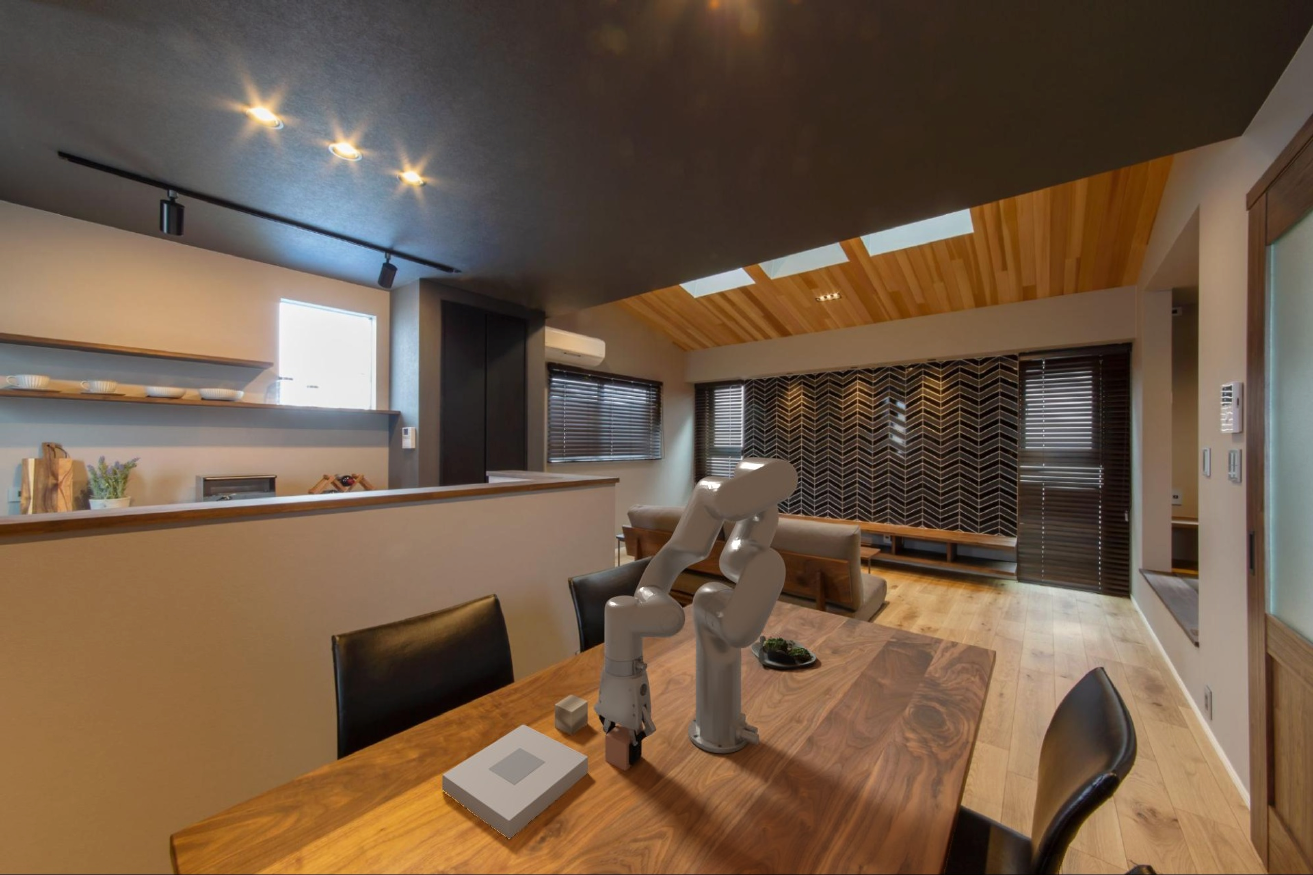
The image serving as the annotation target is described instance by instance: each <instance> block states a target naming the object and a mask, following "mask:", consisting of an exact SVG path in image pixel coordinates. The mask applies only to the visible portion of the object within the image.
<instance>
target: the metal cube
mask: <svg viewBox="0 0 1313 875" xmlns="http://www.w3.org/2000/svg"><path fill="white" fill-rule="evenodd" d="M588 705H589V701H588V700H586V699H583V698H580V697H579V696H576V695H573V694H570V695H567V696H566V697H565V698H563V699H562V700H560V701H558V702H556V703H555V704H554V728H556V729H557V730H559V729H560V730H559V731H561V732H563V733H565V732H566V733H565V734H568V735H569V734H570V736H573V735H575V734H576V733H577V732H578V730H579V731H580V730H582V729H583V728H584V727H585V726H587V725H588V724H589V718H588V717H589V716H588V715H589V706H588ZM582 727H583V728H582Z"/></svg>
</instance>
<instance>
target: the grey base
mask: <svg viewBox="0 0 1313 875" xmlns="http://www.w3.org/2000/svg"><path fill="white" fill-rule="evenodd" d="M588 773H589V756H587V755H586V754H583V753H581V752H580V751H577V750H575V749H573V748H572V747H570V746H567V745H565V744H564V743H562V742H560V741H557V740H556V739H554V738H552V737H550V736H548V735H546V734H543V733H542V732H539V731H537V730H535V729H533V728H532V727H530V726H527V725H526V724H522V725H520V726H518V727H516V728H515V729H513V730H511V731H510V732H508V733H507V734H505V735H504V736H502V737H500V738H499V739H497V740H496V741H495V742H493V743H491V744H489V745H488V746H486V747H485V748H483V749H482V750H480V751H478V752H476V753H474V755H471V756H470V757H468V758H467V759H465V760H463V761H462V762H460V763H459V764H458V765H457V764H456V766H454V767H452V768H451V769H449V770H448V771H446V772H445V773H443V774H442V780H441V781H442V784H441V786H442V787H441V788H442V789H441V791H442V790H444V791H445V792H447V794H449V795H450V796H451V797H453V798H454V799H456V800H457V801H458V802H459V803H460V804H462V805H464V807H466V808H468V809H469V810H470V811H471V812H473V814H472V815H474V814H475V815H477V816H478V817H479V818H481V819H482V820H484V821H485V822H487V823H488V824H489V825H491V826H492V827H493V828H495V829H496V830H498V831H499V832H500V833H502V834H504V835H505V836H506V837H507V838H511V837H512V836H513V835H515V834H516V833H517V832H518V831H519V832H520V831H522V830H523V829H524V828H526V826H528V825H529V824H530V823H531V822H532V821H533V820H535V819H536V818H537V817H538V816H539V815H540V814H542V812H544V811H545V810H547V808H549V807H550V806H551V805H552V804H553V803H554V802H556V801H555V800H558V799H560V797H561V796H563V795H564V794H565V793H566V792H567V791H569V790H570V789H571V788H572V787H573V786H574V785H576V783H578V782H579V781H580V780H581V779H583V778H584V777H585V776H586V775H588ZM460 804H459V805H460ZM549 805H550V806H549ZM548 806H549V807H548ZM464 807H463V808H464ZM471 812H470V813H471ZM475 815H474V816H475ZM536 816H537V817H536ZM478 817H477V818H478ZM535 817H536V818H535ZM479 818H478V819H479ZM482 820H481V821H482ZM531 820H532V821H531ZM530 821H531V822H530ZM485 822H484V823H485ZM529 822H530V823H529ZM528 823H529V824H528ZM489 825H488V826H489ZM493 828H492V829H493ZM521 829H522V830H521ZM496 830H495V831H496ZM519 832H518V833H519ZM500 833H499V834H500ZM518 833H517V834H518ZM517 834H516V835H517ZM516 835H515V836H516ZM513 837H514V836H513ZM513 837H512V838H513ZM507 838H506V839H507ZM512 838H511V839H512Z"/></svg>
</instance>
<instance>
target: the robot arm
mask: <svg viewBox="0 0 1313 875" xmlns="http://www.w3.org/2000/svg"><path fill="white" fill-rule="evenodd" d="M798 482H799V476H798V471H797V469H796V468H795V467H794V466H793V465H792V463H790V462H789V461H787V460H785V459H782V458H771V457H759V456H758V457H755V456H753V457H746V458H742V459H741V460H740V461H739V462H738V463H737V464H736V466H735V468H734V470H733V477H730V478H729V477H723V476H718V475H717V476H715V475H714V476H713V475H711V476H705V477H703V478H702V479H700V480H699V481H698V482H697V483H696V485H695V487H694V488H693V490H692V493H691V494H690V497H689V499H688V501H687V503H686V505H685V508H684V511H683V512H682V514H681V517H680V518H679V521H678V523H677V525H676V527H675V529H674V531H673V534H672V535H671V538H670V539H669V540H668V541H667V542H666V543H665V544H664V545H663V546H662V547H661V548H660V550H659V551H658V552H657V553H656V554H655V555H654V556H653V557H652V559H651V560H650V562H649V563H648V565H646V568H645V570H644V572H643V573H642V576H641V578H640V580H639V581H638V582H639V583H638V585H637V587H636V589H635V592H634V595H633V596H631V595H618V596H614V597H611V598H610V599H608V600H607V601H606V603H605V606H604V665H603V666H602V669H601V674H600V680H599V687H598V700H597V702H596V703H595V704H594V705H593V711H595V713H596V715H597V716H598V719H599V721H600V723H601V724H602V731H603V732H604V733H605V735H606V734H607V733H609V732H610V731H611V730H612V729H614V728H615V727H616V726H617V725H619V724H620V725H622V726H624V727H627V728H629V733H630V738H631V743H630V744H629V765H631V766H630V767H632V766H634V765H635V764H636V763H637V762H638V761H639V760H641V758H642V756H643V754H642V753H643V740H644V739H646V738H647V737H649V736H651V735H652V734H654V733H655V732H656V731H657V728H656V725H655V723H654V722H653V719H652V699H651V689H650V682H649V676H648V672H647V669H648V663H646V662H645V661H644V638H659V639H660V638H661V639H663V638H665V639H666V638H671V637H674V636H676V635H677V634H679V632H681V631H682V629H683V628H684V626H685V624H686V623H685V622H686V613H685V610H684V609H683V607H682V605H681V604H680V603H679V602H678V601H677V600H676V599H674V598H673V597H672V596H671V595H670V591H671V590H672V587H673V585H674V583H675V581H676V580H677V579H678V576H679V575H680V574H681V573H682V572H683V571H684V570H685V569H687V568H688V567H689V566H693V565H694V564H696V563H699V562H702V561H703V560H705V559H708V557H709V556H710V554H711V552H712V549H713V547H714V545H715V542H716V540H717V538H718V535H719V533H720V531H721V529H722V528H723V525H724V523H725V522H728V523H735V525H734V527H733V528H732V530H731V533H730V535H729V537H728V538H727V541H726V543H725V545H724V547H723V549H722V552H721V553H720V556H719V558H718V559H719V561H718V565H719V570H720V572H721V573H722V574H723V576H725V578H726V579H729V581H730V580H731V581H732V582H734V583H735V584H736V585H735V587H734V588H732V587H730V586H728V585H726V584H725V583H722V582H718V581H710V582H707V583H704V584H703V585H701V586H700V587H699V588H698V589H697V590H696V591H695V594H694V595H693V598H692V605H691V609H692V610H691V612H692V613H691V614H692V620H693V627H694V628H693V629H694V635H695V717H694V718H692V719H691V721H690V722H689V724H688V727H687V730H688V734H687V735H688V738H689V739H690V741H692V743H693V744H694V745H695V746H697V747H698V748H700V749H702V750H703V751H706V752H710V753H715V754H730V753H731V754H732V753H734V752H737V751H740V750H741V749H743V748H744V747H745V746H746V745H747V743H750V744H752V745H755V746H758V744H759V741H760V735H759V733H758V729H759V728H758V727H757V726H755V725H750V724H748V723H747V722H746V719H747V718H746V714H744V713H742V649H745V648H748V647H751V646H752V644H754V643H756V641H758V639H760V636H762V633H763V632H764V629H765V627H766V625H767V623H768V621H769V619H770V617H771V615H772V612H773V611H774V608H775V606H776V603H777V602H778V600H779V597H780V595H781V593H782V590H783V588H784V585H785V580H786V565H785V561H784V558H783V557H782V555H781V554H780V553H779V552H778V551H777V550H775V549H774V548H772V547H770V546H771V544H772V542H773V539H774V537H775V534H776V531H777V530H778V525H779V520H780V513H779V506H778V504H780V503H782V502H784V501H786V500H787V499H788V498H790V497H791V496H792V495H793V494H794V493H795V491H796V489H797V487H798ZM636 730H637V733H638V735H636Z"/></svg>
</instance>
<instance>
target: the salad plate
mask: <svg viewBox="0 0 1313 875" xmlns="http://www.w3.org/2000/svg"><path fill="white" fill-rule="evenodd" d="M750 650H751V652H752V653H753V654H754V655H755V657H757V661H758V663H760V664H762V665H764V666H765V667H767V668H771V669H772V670H778V671H794V670H803V669H808V668H811V667H813V666H814V665H815V664H816V662H817V655H816V654H815V653H813V652H812V651H811V650H809V649H808V648H806V647H805V646H804V645H803V644H802V643H800V642H799V641H796V640H791V639H786V638H785V639H783V638H782V637H774V638H772V636H769V637H768V638H766V636H765V635H760V636H759V641H757V642H754V643H753V644H752V645H750Z"/></svg>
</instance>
